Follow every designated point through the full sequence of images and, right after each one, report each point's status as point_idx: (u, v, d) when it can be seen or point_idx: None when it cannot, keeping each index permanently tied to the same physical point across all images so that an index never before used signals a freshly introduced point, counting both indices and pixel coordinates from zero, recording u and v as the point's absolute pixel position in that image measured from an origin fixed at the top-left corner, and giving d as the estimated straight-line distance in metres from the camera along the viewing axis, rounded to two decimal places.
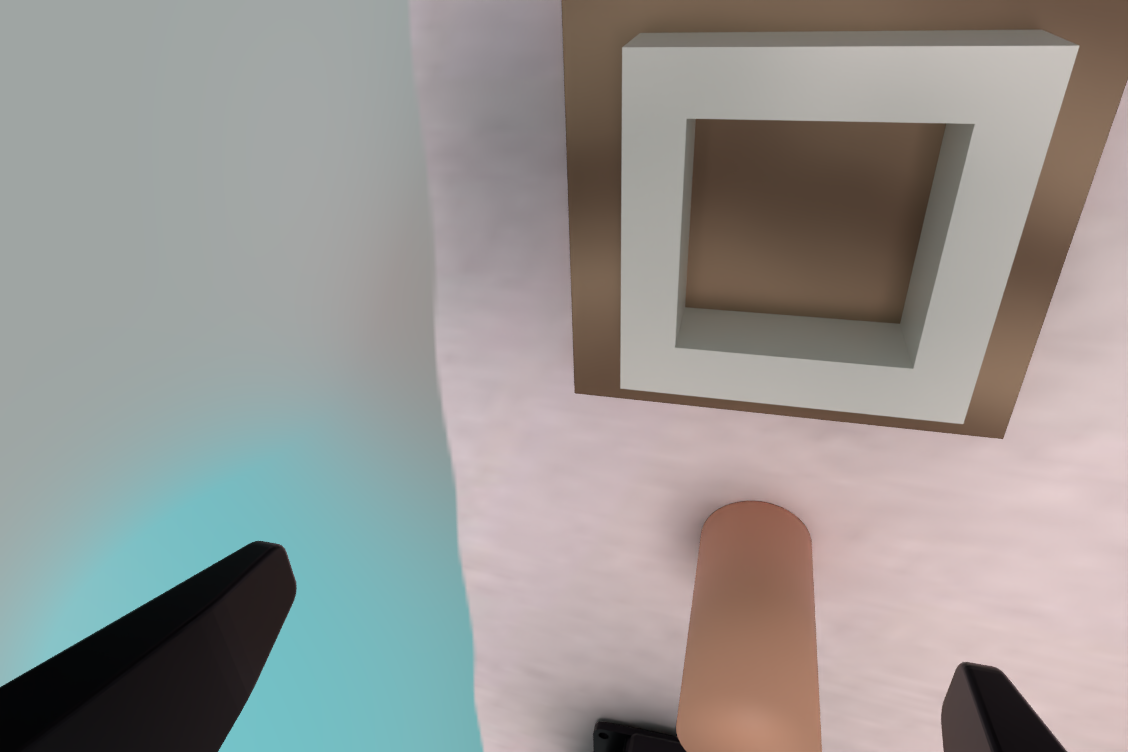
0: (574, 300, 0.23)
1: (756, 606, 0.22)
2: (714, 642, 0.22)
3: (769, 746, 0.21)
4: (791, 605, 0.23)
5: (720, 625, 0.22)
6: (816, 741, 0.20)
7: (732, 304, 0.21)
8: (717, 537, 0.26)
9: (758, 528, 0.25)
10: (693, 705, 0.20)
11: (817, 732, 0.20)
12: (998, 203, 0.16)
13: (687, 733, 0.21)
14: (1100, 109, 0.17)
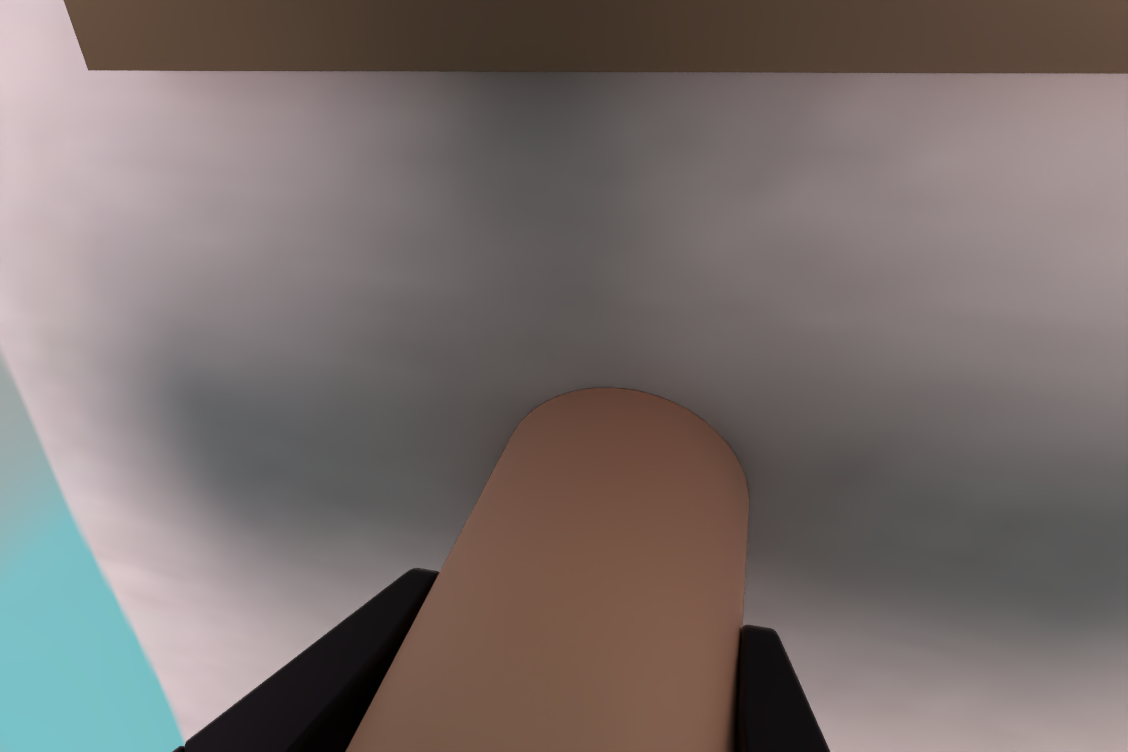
0: None
1: (525, 666, 0.07)
2: None
3: None
4: (648, 659, 0.07)
5: (395, 733, 0.06)
6: None
7: None
8: (502, 471, 0.10)
9: (599, 444, 0.10)
10: None
11: None
12: None
13: None
14: None
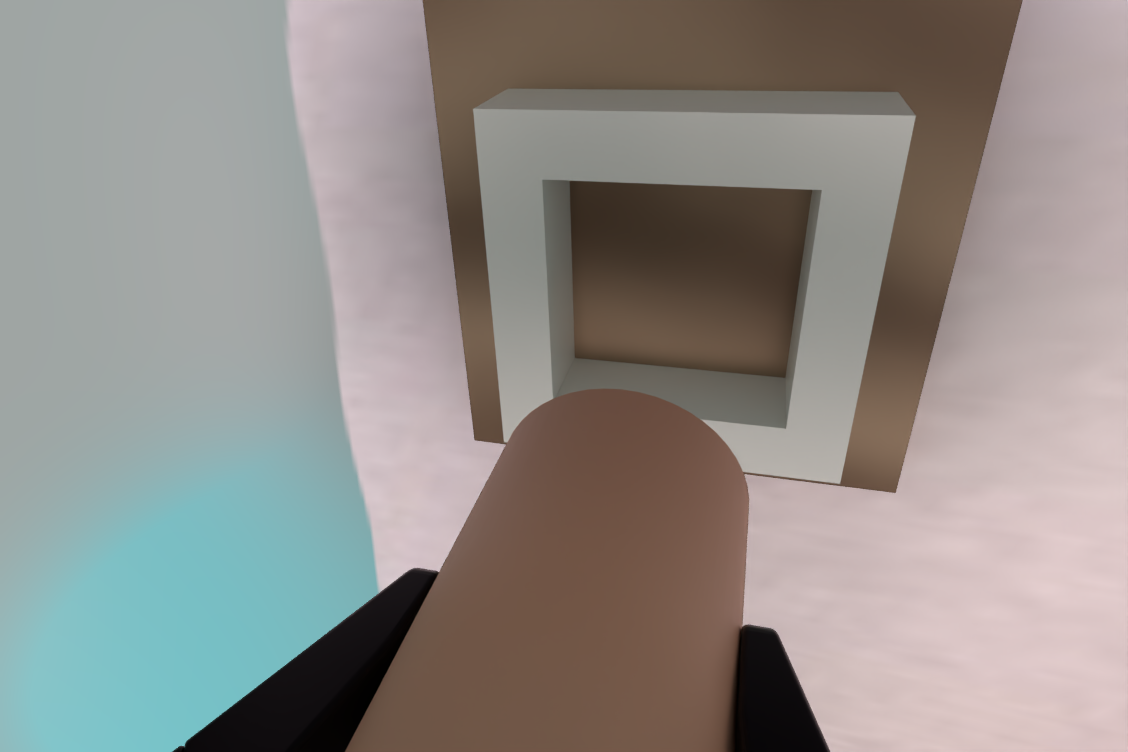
0: (466, 349, 0.22)
1: (524, 669, 0.07)
2: None
3: None
4: (648, 662, 0.07)
5: (393, 736, 0.06)
6: None
7: (620, 355, 0.21)
8: (501, 472, 0.10)
9: (598, 446, 0.10)
10: None
11: None
12: (852, 268, 0.16)
13: None
14: (962, 171, 0.16)
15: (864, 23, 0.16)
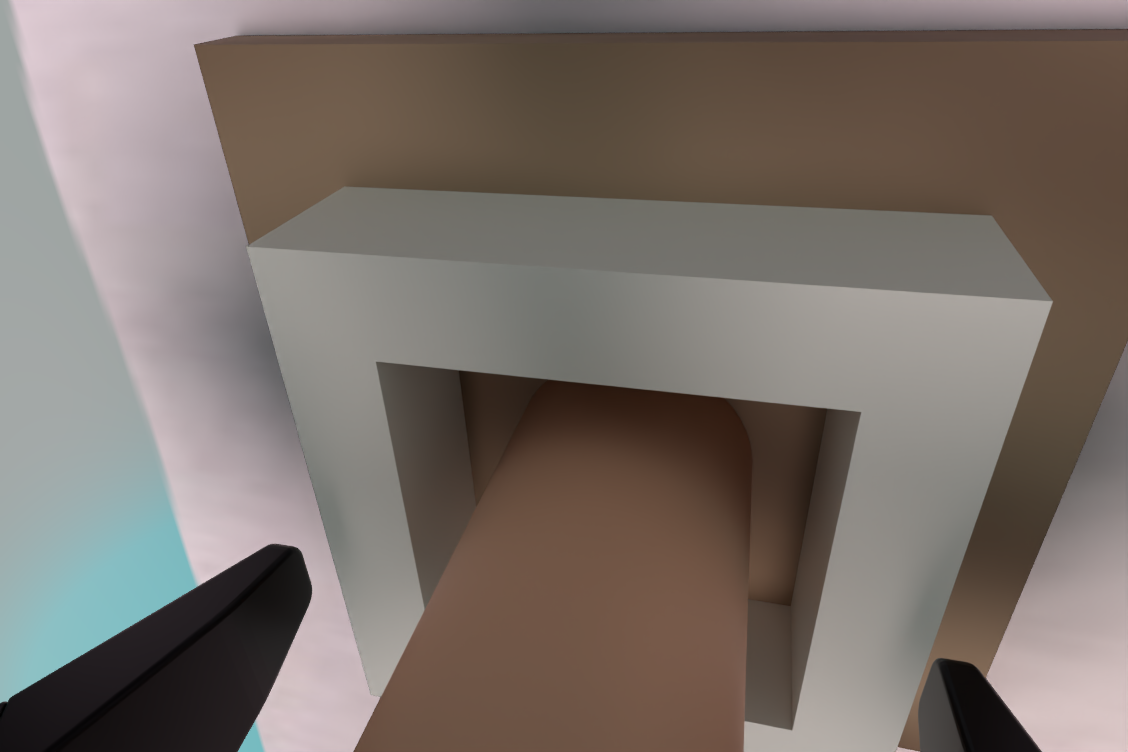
0: None
1: (559, 589, 0.07)
2: (406, 704, 0.07)
3: None
4: (669, 585, 0.08)
5: (443, 648, 0.07)
6: None
7: None
8: (524, 432, 0.11)
9: (615, 404, 0.10)
10: None
11: None
12: (912, 533, 0.09)
13: None
14: (1096, 344, 0.10)
15: (937, 99, 0.09)
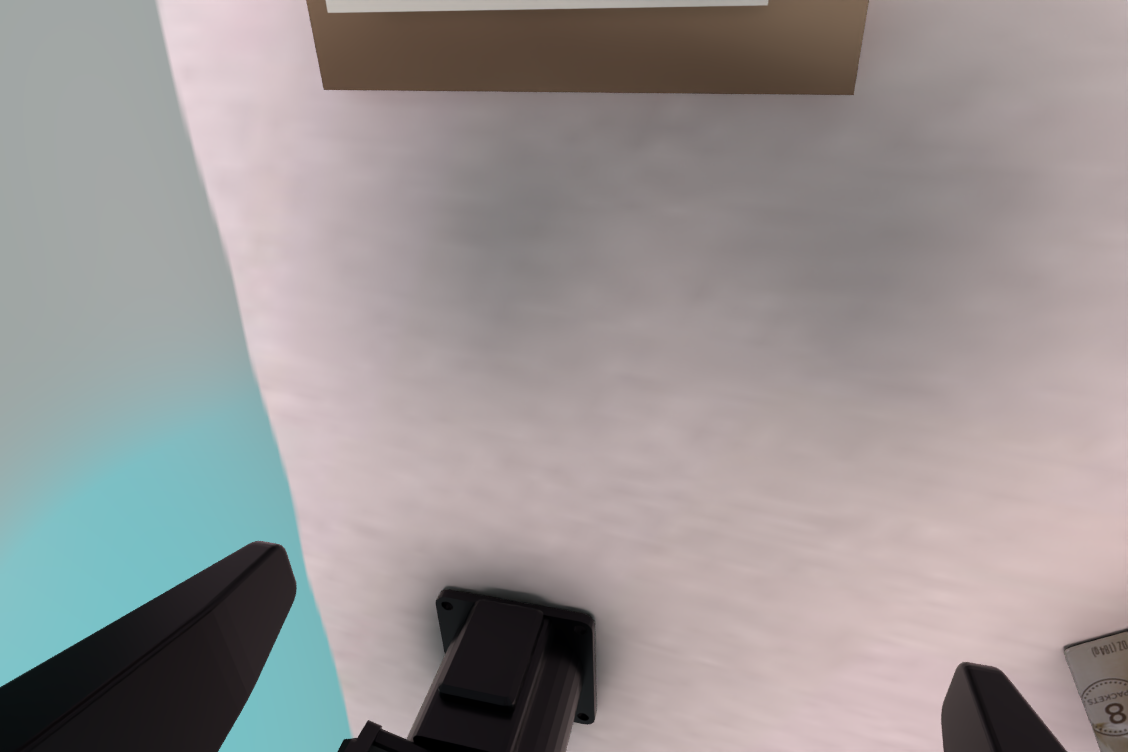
0: None
1: None
2: None
3: None
4: None
5: None
6: None
7: None
8: None
9: None
10: None
11: None
12: None
13: None
14: None
15: None
